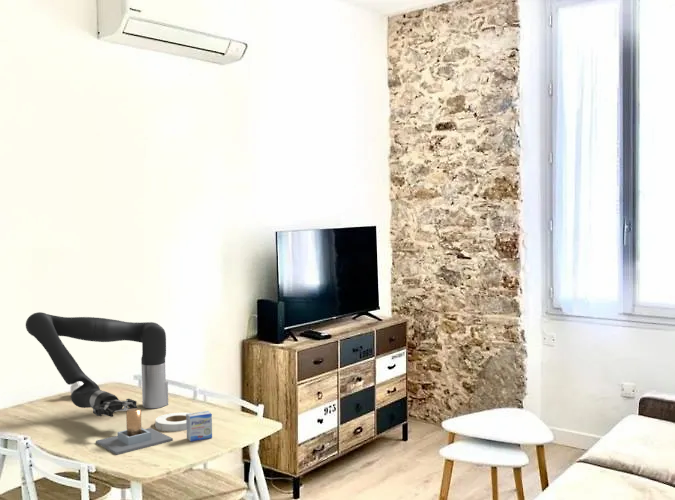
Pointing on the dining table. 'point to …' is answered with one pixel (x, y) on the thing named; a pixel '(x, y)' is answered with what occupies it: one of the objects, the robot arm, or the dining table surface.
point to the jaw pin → (133, 422)
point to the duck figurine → (75, 386)
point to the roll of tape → (171, 422)
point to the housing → (133, 441)
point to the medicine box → (199, 426)
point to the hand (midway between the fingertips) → (124, 411)
